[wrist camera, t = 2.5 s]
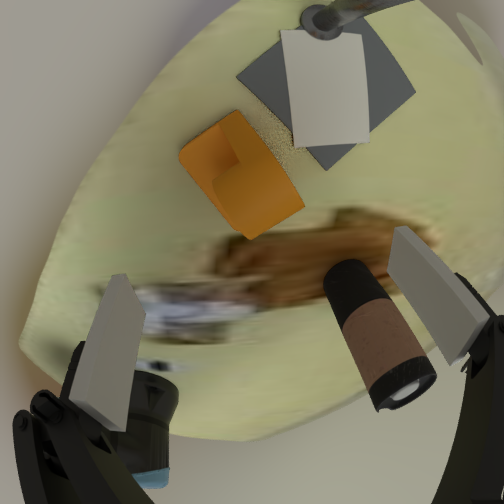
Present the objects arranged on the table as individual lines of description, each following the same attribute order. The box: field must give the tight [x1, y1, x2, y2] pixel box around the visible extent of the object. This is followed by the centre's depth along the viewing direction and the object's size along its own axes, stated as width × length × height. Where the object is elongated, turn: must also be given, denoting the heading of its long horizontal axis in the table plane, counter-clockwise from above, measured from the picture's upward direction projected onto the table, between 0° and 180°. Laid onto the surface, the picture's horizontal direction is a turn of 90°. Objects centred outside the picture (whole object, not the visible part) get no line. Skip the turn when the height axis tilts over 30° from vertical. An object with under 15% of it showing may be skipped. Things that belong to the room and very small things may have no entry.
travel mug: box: [324, 260, 437, 412], centre depth 30 cm, size 8×8×20 cm
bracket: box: [179, 110, 305, 240], centre depth 23 cm, size 11×7×12 cm, turn 33°
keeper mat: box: [236, 17, 416, 171], centre depth 23 cm, size 16×17×1 cm
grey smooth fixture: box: [301, 0, 413, 41], centre depth 13 cm, size 7×4×15 cm
